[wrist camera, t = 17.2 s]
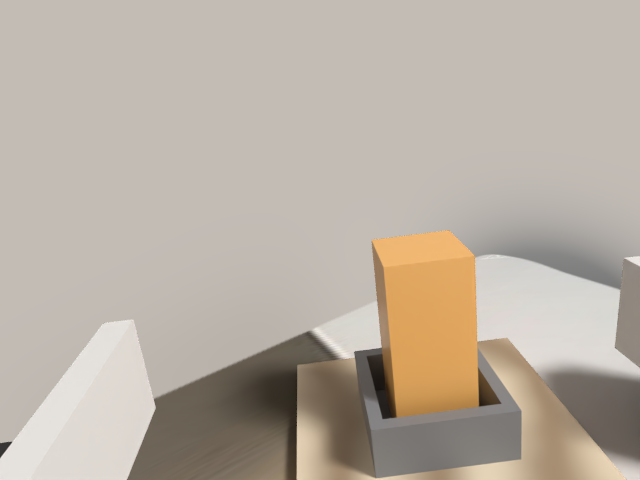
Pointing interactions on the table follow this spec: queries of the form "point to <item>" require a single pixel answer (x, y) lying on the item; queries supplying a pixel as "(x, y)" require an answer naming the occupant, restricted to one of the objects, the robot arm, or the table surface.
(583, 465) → the mounting board
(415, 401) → the connector plug
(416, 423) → the socket cup
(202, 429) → the table surface
